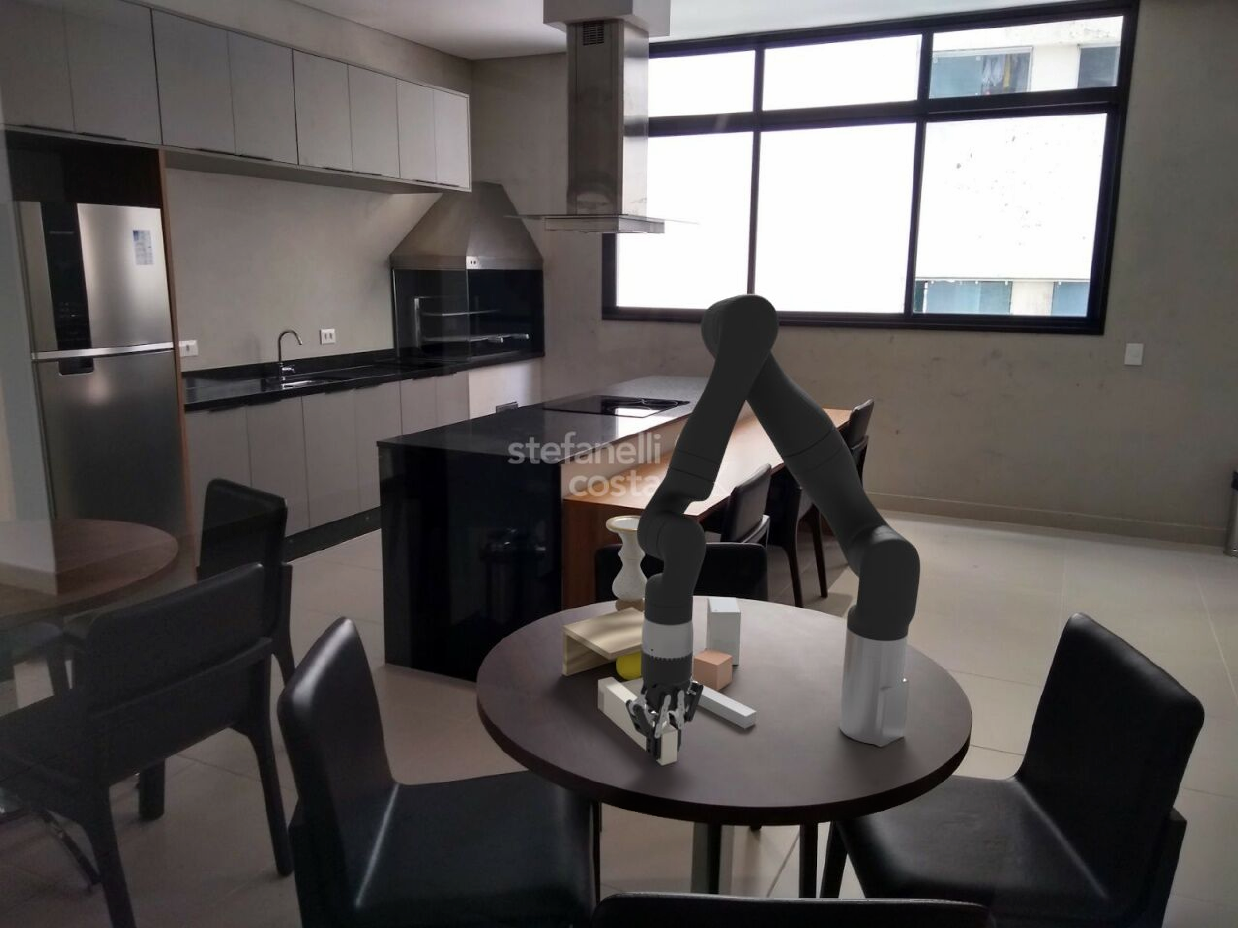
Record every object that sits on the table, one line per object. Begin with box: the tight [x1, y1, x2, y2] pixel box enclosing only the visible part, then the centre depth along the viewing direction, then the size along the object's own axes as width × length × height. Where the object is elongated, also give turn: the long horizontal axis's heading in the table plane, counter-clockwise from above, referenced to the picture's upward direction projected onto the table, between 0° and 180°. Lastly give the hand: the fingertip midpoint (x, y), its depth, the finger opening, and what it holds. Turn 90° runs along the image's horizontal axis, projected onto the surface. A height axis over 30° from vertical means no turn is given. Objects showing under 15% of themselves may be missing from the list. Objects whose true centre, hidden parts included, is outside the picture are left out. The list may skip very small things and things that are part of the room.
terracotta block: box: [692, 648, 733, 692], centre depth 156 cm, size 5×5×5 cm
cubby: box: [562, 607, 644, 677], centre depth 157 cm, size 14×16×9 cm
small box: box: [705, 596, 742, 666], centre depth 167 cm, size 8×6×10 cm
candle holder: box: [605, 515, 648, 613], centre depth 173 cm, size 11×11×24 cm
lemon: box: [615, 651, 642, 681], centre depth 158 cm, size 7×5×5 cm
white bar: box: [597, 676, 678, 766], centre depth 140 cm, size 20×9×5 cm, turn 30°
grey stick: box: [698, 685, 757, 730], centre depth 147 cm, size 14×3×2 cm, turn 41°
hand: (663, 752), depth 132 cm, fingers closed on white bar, 3 cm apart
